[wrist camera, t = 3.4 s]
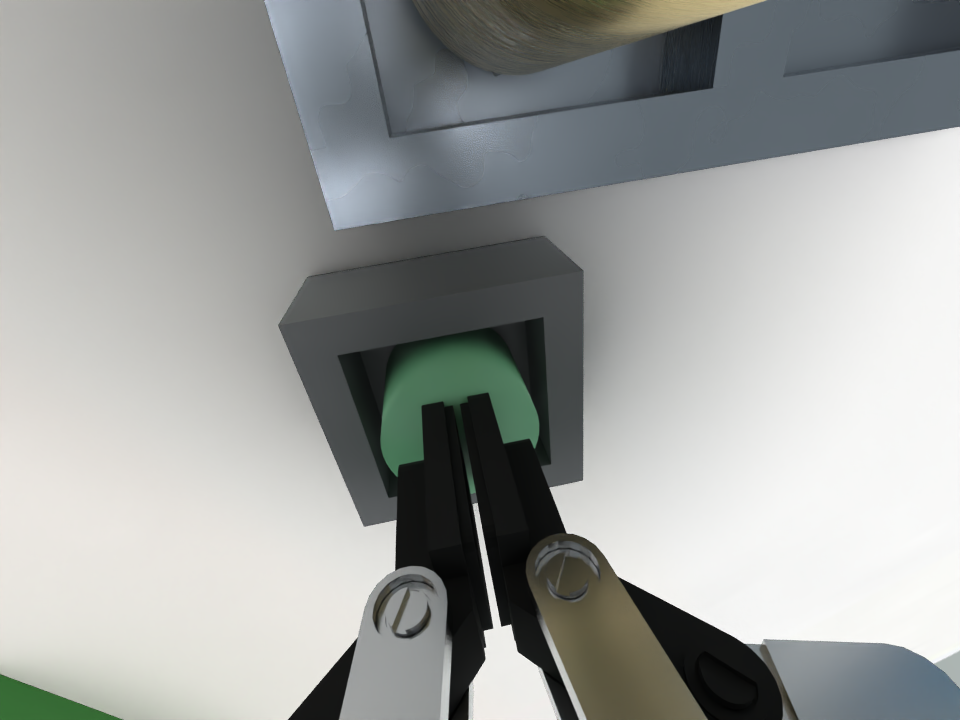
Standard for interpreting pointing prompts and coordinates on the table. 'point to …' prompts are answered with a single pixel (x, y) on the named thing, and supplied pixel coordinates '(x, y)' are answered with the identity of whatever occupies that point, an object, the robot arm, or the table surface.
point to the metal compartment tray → (601, 100)
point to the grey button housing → (433, 313)
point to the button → (452, 391)
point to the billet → (555, 27)
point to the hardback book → (41, 704)
